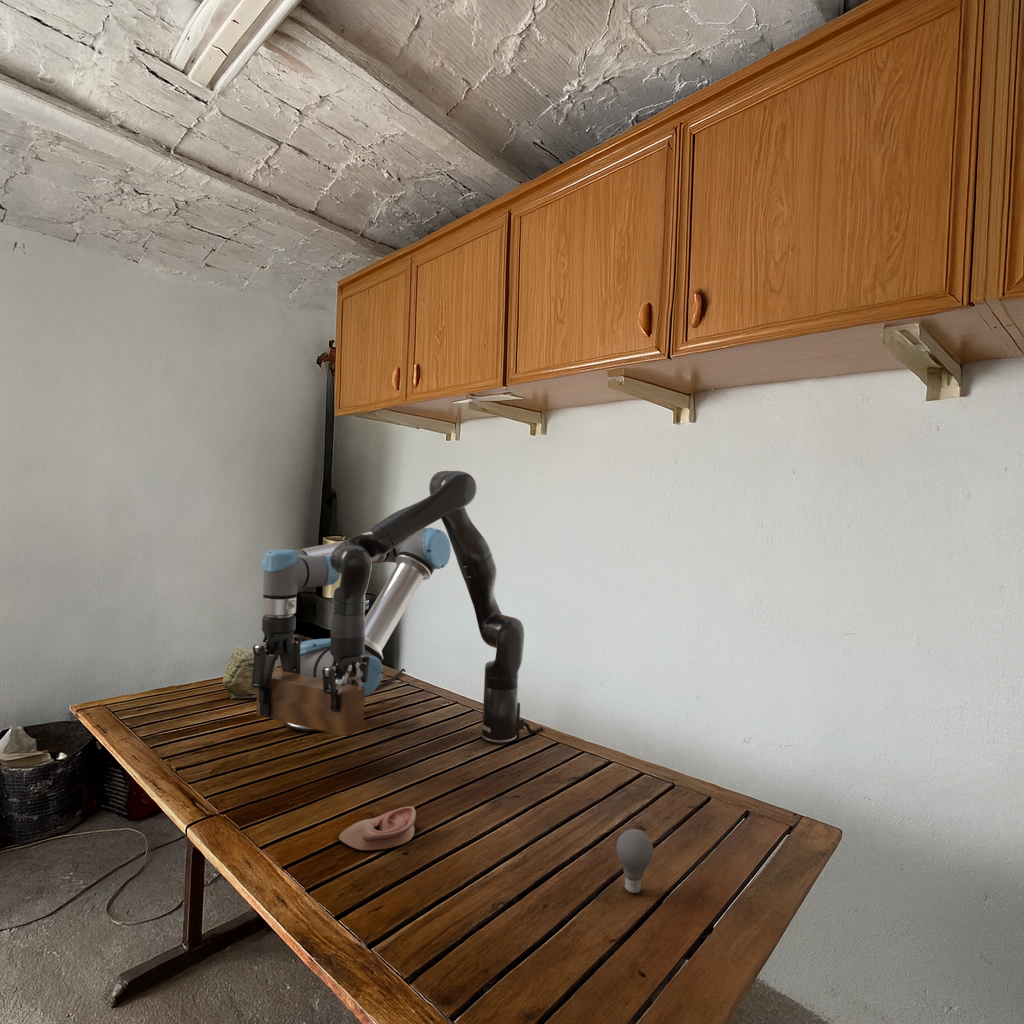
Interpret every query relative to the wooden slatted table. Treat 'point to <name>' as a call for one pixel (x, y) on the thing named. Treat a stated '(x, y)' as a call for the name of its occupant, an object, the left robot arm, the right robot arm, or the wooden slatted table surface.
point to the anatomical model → (381, 830)
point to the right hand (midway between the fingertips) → (345, 706)
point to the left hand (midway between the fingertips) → (275, 711)
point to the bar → (314, 704)
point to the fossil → (240, 674)
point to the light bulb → (634, 857)
